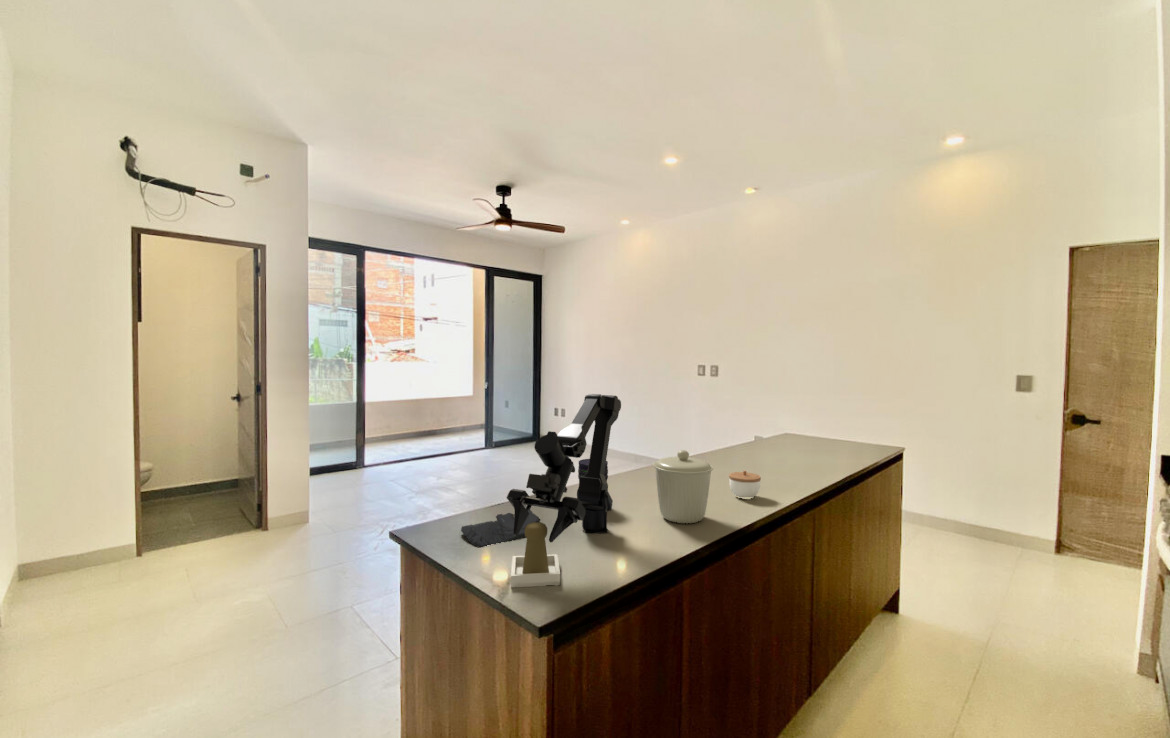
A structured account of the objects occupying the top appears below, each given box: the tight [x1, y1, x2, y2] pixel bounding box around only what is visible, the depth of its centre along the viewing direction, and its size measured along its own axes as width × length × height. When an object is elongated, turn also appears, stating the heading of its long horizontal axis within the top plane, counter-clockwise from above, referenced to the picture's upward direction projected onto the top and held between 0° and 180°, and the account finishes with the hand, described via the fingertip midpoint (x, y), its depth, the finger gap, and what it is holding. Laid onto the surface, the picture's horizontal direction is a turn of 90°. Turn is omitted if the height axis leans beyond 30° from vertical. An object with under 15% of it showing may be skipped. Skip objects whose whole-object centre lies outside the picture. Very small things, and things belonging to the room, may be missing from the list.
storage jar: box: [577, 458, 609, 482], centre depth 163 cm, size 10×10×15 cm
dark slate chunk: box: [460, 508, 541, 548], centre depth 140 cm, size 15×22×5 cm
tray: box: [510, 553, 561, 588], centre depth 112 cm, size 11×11×2 cm
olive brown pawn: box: [522, 521, 549, 574], centre depth 112 cm, size 6×6×11 cm
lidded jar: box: [728, 470, 761, 498], centre depth 175 cm, size 11×11×9 cm
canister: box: [652, 449, 714, 524], centre depth 152 cm, size 18×18×21 cm
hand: (532, 538), depth 111 cm, fingers open, 9 cm apart
